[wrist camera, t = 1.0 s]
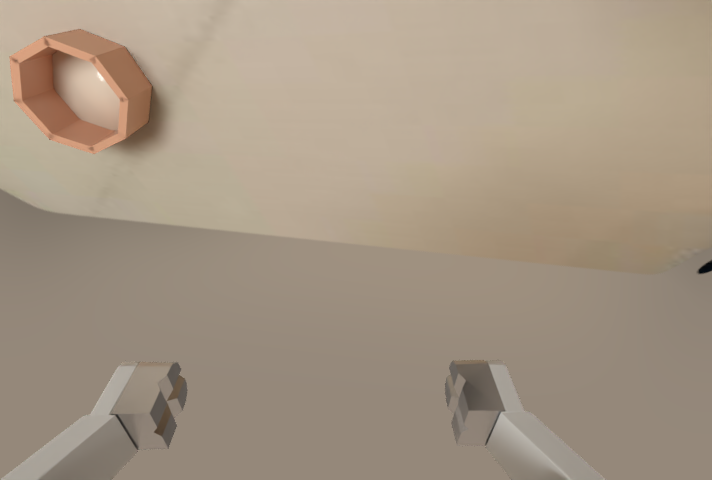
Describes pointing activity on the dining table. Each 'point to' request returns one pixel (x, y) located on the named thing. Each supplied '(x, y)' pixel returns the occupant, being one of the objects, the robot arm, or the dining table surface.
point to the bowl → (81, 89)
